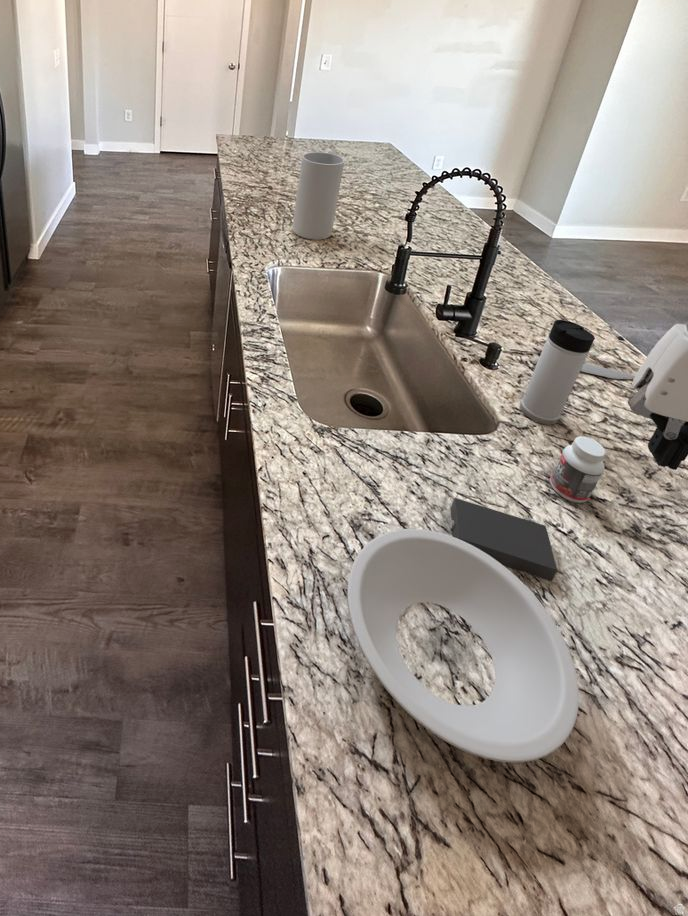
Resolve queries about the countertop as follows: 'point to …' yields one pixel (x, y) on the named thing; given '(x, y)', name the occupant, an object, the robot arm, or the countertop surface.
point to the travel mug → (556, 371)
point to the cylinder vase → (317, 195)
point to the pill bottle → (578, 469)
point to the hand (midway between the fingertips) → (661, 458)
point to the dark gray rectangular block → (505, 538)
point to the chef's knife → (603, 371)
